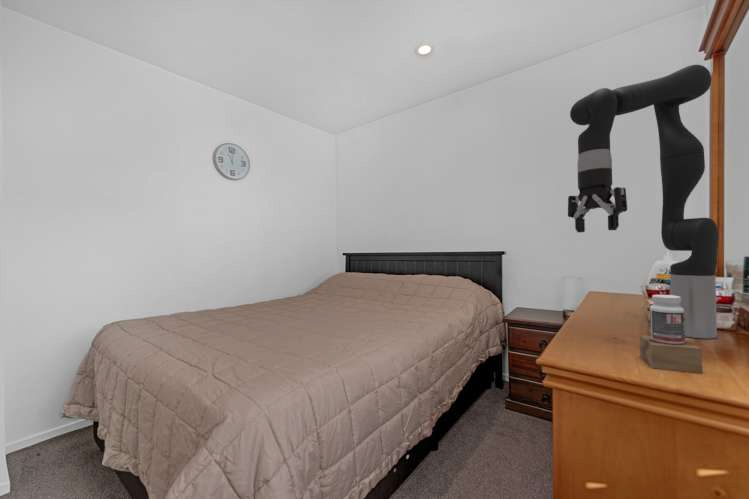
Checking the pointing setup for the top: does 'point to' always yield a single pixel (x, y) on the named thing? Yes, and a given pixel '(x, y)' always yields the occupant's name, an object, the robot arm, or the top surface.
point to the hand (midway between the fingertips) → (595, 231)
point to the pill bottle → (667, 320)
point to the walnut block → (671, 355)
